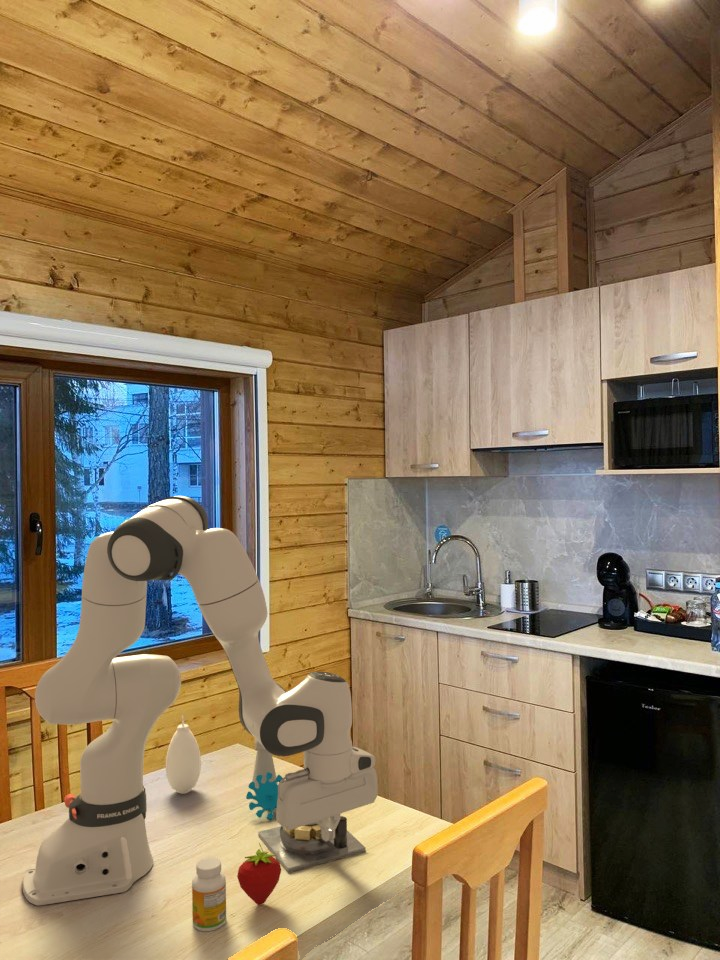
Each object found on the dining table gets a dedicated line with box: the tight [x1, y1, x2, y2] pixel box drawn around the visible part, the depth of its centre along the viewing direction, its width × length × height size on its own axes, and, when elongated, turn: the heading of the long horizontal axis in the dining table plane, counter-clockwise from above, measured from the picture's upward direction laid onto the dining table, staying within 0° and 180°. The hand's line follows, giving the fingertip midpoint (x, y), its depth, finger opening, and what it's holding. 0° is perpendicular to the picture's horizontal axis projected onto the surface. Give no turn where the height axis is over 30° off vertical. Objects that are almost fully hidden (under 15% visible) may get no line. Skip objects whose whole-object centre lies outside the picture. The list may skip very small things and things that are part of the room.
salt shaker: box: [251, 739, 279, 795], centre depth 172 cm, size 6×6×13 cm
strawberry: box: [236, 842, 282, 906], centre depth 128 cm, size 6×8×10 cm
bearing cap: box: [257, 822, 367, 873], centre depth 149 cm, size 16×16×6 cm
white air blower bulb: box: [165, 714, 202, 795], centre depth 173 cm, size 8×8×18 cm
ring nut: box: [283, 815, 348, 856], centre depth 145 cm, size 10×18×6 cm, turn 31°
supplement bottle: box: [191, 856, 227, 932], centre depth 123 cm, size 5×5×10 cm
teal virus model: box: [245, 772, 283, 821], centre depth 164 cm, size 11×6×10 cm
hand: (328, 838), depth 137 cm, fingers closed
